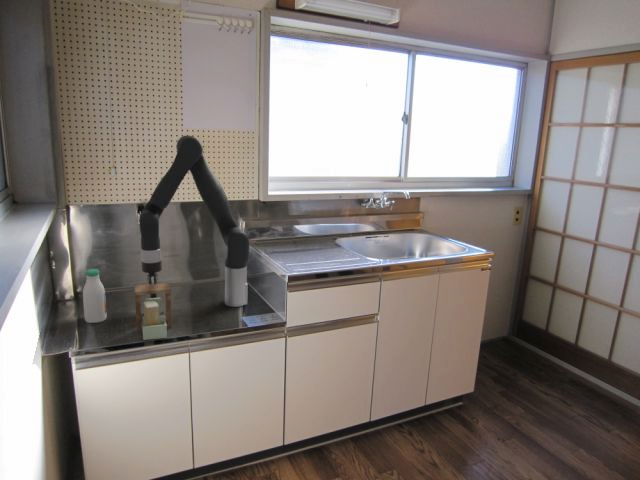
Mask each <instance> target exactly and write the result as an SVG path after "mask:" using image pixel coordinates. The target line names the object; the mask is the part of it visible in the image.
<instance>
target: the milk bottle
mask: <svg viewBox="0 0 640 480" xmlns="http://www.w3.org/2000/svg"><path fill="white" fill-rule="evenodd" d="M85 277H86V281H85V284H84V286H83V289H82V301H83V317H84V321H85V322H86V323H89V324H95V323H96V324H98V323H102V322H103V321H105V320H106V319H107V317H108V316H107V315H108V314H107V299H106V290H105V287H104V285H103V283H102V282H101V279H100V270H99V269H97V268H91V269H87V270H85Z"/></svg>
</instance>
